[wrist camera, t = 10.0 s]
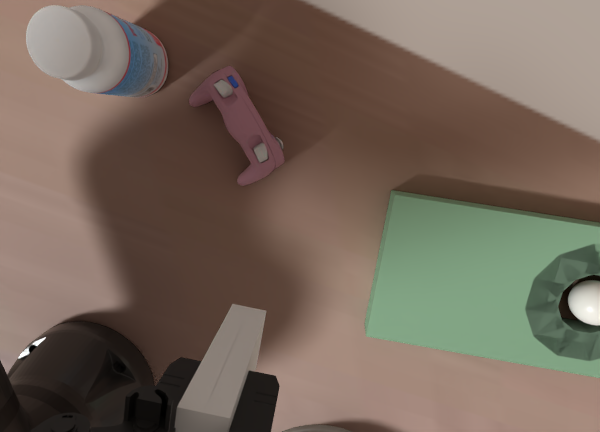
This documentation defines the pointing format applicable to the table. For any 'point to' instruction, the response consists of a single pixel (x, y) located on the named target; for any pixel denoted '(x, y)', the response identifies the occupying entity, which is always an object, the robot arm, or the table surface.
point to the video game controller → (241, 122)
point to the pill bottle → (96, 51)
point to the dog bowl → (316, 429)
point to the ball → (586, 301)
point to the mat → (484, 282)
